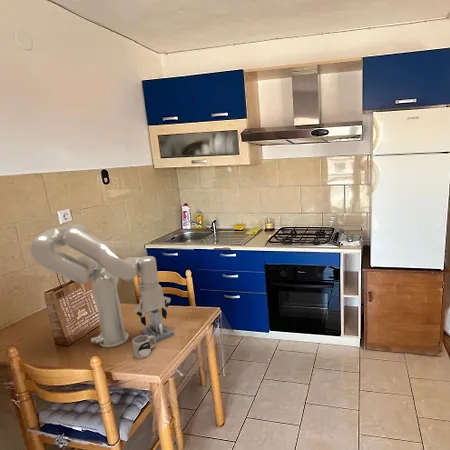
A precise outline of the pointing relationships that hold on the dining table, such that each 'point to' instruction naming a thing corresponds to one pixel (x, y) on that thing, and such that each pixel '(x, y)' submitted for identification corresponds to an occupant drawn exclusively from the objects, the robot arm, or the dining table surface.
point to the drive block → (155, 321)
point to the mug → (143, 346)
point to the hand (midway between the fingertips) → (154, 320)
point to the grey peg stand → (163, 334)
